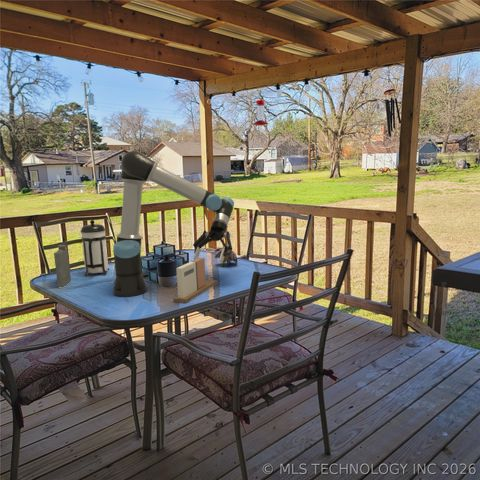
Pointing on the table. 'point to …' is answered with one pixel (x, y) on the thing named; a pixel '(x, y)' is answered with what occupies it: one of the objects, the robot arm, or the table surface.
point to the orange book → (200, 272)
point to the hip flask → (62, 266)
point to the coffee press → (94, 248)
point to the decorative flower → (227, 256)
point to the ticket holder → (189, 283)
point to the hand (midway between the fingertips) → (207, 260)
